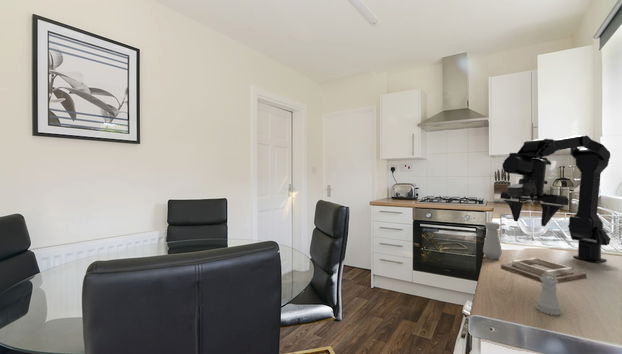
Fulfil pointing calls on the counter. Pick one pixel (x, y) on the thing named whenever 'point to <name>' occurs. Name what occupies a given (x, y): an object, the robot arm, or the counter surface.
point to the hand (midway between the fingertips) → (528, 223)
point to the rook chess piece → (549, 296)
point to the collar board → (542, 269)
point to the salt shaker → (492, 241)
